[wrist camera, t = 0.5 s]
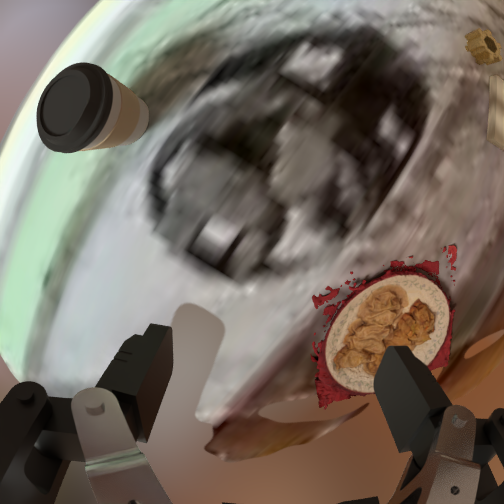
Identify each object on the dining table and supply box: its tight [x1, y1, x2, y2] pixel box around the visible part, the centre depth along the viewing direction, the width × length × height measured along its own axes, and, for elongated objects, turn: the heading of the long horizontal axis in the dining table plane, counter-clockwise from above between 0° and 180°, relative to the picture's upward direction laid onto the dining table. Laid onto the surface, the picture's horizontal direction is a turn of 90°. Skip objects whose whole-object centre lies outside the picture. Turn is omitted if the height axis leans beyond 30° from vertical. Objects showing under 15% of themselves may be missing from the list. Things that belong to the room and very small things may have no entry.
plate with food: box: [311, 245, 457, 409], centre depth 40 cm, size 24×26×3 cm
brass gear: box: [465, 28, 503, 65], centre depth 25 cm, size 6×6×4 cm
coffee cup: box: [37, 63, 149, 153], centre depth 26 cm, size 9×9×15 cm
